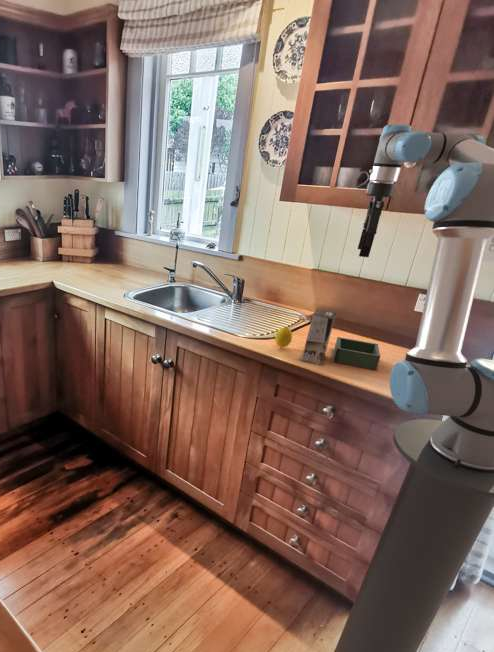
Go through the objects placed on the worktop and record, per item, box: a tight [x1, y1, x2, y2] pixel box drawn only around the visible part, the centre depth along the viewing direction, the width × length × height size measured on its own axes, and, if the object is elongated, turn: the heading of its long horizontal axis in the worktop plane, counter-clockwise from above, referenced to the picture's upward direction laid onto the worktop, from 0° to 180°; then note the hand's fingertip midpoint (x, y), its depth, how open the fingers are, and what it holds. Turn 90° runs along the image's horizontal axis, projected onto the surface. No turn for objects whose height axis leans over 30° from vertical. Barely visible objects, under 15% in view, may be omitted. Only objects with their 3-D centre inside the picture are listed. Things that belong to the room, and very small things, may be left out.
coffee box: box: [301, 308, 337, 365], centre depth 156 cm, size 9×6×16 cm
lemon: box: [274, 326, 293, 349], centre depth 164 cm, size 6×6×8 cm
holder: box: [333, 336, 381, 371], centre depth 159 cm, size 12×13×5 cm
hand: (362, 253), depth 150 cm, fingers open, 13 cm apart
